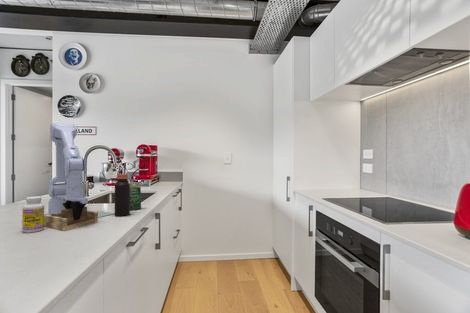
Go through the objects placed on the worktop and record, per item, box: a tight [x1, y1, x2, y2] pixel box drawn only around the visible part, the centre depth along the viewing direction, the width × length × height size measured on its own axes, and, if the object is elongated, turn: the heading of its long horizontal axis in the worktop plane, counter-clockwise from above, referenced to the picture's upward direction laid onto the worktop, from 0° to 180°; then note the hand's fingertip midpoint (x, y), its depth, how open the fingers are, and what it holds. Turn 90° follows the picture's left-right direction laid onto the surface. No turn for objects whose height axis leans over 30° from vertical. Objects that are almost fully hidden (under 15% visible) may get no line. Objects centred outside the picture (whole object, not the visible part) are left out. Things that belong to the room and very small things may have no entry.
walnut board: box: [61, 206, 88, 226], centre depth 107 cm, size 3×9×7 cm, turn 154°
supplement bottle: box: [21, 195, 45, 234], centre depth 99 cm, size 7×7×13 cm
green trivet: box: [94, 210, 115, 219], centre depth 125 cm, size 12×12×1 cm
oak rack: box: [44, 209, 99, 232], centre depth 109 cm, size 18×14×4 cm
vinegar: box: [114, 173, 131, 217], centre depth 125 cm, size 7×7×20 cm
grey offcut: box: [50, 212, 61, 217], centre depth 112 cm, size 4×7×2 cm, turn 161°
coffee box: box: [130, 184, 142, 211], centre depth 137 cm, size 8×3×13 cm, turn 122°
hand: (74, 219), depth 107 cm, fingers closed on walnut board, 3 cm apart
